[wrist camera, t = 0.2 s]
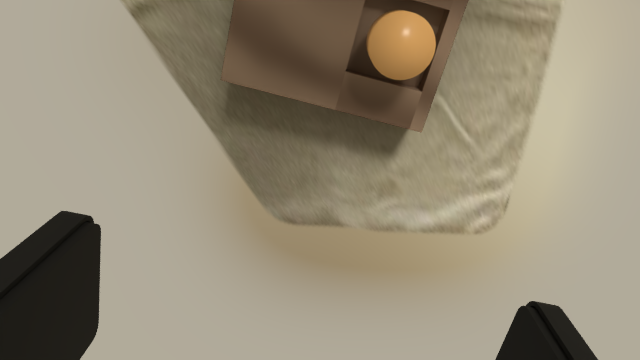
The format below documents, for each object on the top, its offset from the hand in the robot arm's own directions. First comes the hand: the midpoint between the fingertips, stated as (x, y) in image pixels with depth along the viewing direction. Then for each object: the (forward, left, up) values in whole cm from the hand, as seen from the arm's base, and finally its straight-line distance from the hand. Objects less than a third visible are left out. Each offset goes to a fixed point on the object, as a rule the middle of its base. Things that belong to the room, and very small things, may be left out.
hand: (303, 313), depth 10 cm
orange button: (-4, +4, -27) cm, 27 cm away
